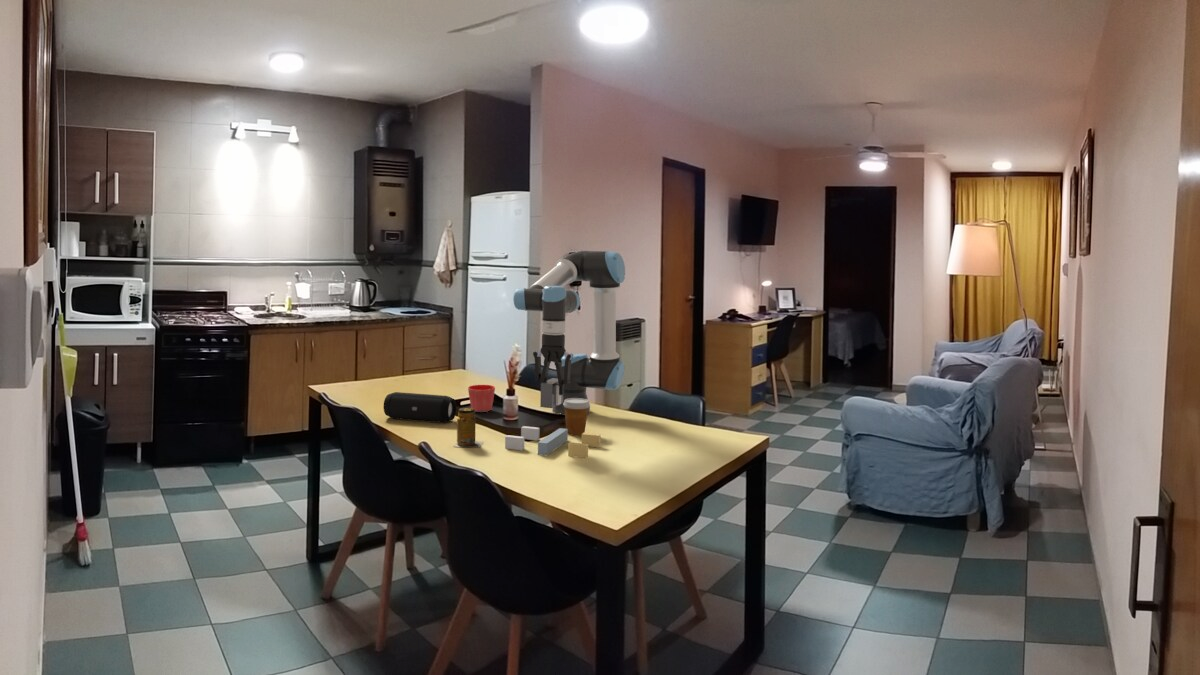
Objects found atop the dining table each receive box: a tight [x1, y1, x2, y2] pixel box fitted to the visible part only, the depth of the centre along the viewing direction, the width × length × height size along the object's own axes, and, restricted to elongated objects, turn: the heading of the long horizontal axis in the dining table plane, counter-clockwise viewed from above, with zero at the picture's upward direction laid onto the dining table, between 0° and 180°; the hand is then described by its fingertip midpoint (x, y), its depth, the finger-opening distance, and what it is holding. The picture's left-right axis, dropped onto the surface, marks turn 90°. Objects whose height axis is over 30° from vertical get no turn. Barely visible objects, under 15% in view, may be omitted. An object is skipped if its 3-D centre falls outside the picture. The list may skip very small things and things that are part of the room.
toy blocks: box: [504, 425, 601, 459], centre depth 250 cm, size 20×28×4 cm
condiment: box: [453, 407, 484, 448], centre depth 250 cm, size 7×8×12 cm
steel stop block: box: [539, 377, 563, 409], centre depth 248 cm, size 10×4×8 cm, turn 161°
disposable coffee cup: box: [563, 398, 591, 437], centre depth 268 cm, size 10×10×12 cm
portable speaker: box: [383, 391, 457, 424], centre depth 281 cm, size 26×10×10 cm, turn 79°
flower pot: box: [467, 384, 496, 411], centre depth 299 cm, size 11×11×10 cm
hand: (551, 403), depth 248 cm, fingers closed on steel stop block, 4 cm apart
